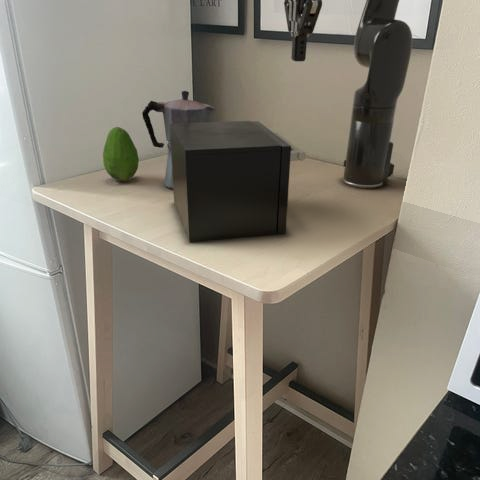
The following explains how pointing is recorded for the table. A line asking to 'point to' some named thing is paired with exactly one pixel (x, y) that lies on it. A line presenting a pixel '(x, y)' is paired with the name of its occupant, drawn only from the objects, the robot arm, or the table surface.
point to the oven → (225, 180)
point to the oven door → (283, 173)
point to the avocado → (120, 155)
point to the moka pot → (175, 122)
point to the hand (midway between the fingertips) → (298, 60)
